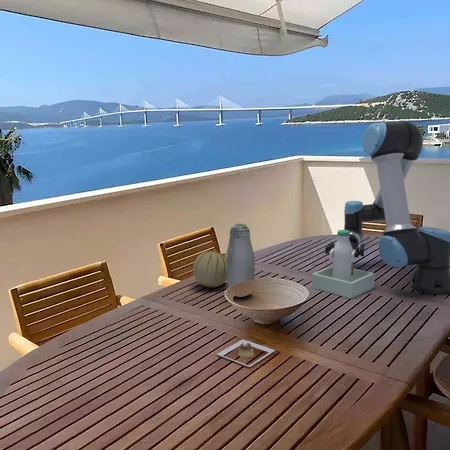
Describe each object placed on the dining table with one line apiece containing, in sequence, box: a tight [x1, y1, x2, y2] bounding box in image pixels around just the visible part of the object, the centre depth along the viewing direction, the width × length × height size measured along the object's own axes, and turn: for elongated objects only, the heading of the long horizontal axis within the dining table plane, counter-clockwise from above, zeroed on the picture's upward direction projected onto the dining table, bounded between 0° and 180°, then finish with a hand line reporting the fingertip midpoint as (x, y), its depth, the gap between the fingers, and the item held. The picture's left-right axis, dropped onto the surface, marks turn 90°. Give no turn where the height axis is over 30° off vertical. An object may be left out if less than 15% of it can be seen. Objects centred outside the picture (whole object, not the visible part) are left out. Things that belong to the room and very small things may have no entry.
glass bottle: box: [225, 223, 255, 288], centre depth 178 cm, size 10×10×28 cm
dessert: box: [216, 339, 276, 368], centre depth 134 cm, size 12×12×5 cm
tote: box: [311, 265, 376, 299], centre depth 185 cm, size 18×16×6 cm
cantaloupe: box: [192, 248, 227, 288], centre depth 191 cm, size 15×15×15 cm
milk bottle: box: [332, 229, 354, 282], centre depth 183 cm, size 8×8×20 cm
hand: (341, 257), depth 178 cm, fingers closed on milk bottle, 7 cm apart
